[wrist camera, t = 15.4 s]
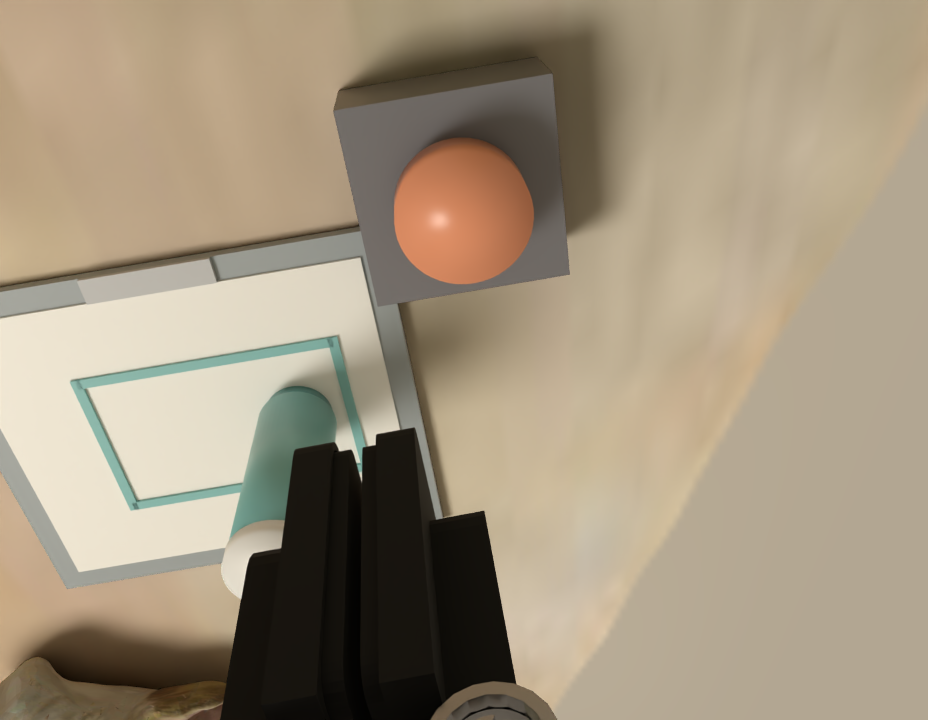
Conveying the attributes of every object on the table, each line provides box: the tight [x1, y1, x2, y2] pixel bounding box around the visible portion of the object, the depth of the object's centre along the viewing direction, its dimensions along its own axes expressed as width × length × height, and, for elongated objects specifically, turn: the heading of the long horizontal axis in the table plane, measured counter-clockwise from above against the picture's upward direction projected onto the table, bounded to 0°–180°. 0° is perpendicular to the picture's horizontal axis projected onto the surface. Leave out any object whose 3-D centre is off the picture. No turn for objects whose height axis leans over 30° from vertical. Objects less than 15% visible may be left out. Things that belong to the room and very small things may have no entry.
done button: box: [394, 137, 534, 284], centre depth 27 cm, size 4×4×4 cm
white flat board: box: [0, 227, 443, 589], centre depth 34 cm, size 18×15×1 cm
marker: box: [221, 386, 337, 599], centre depth 30 cm, size 3×3×9 cm
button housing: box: [333, 57, 570, 307], centre depth 28 cm, size 7×7×3 cm
